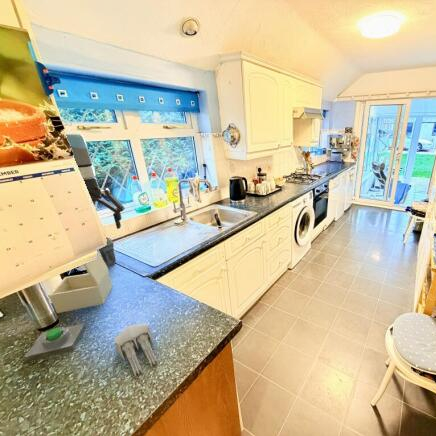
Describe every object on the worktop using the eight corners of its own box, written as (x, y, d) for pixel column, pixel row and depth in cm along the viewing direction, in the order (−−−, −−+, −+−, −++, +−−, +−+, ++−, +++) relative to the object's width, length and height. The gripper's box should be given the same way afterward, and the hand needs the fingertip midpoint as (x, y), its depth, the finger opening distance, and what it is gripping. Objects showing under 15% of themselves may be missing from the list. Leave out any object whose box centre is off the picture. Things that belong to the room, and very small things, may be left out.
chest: (56, 313, 93) (48, 295, 90) (71, 293, 104) (64, 277, 101) (103, 303, 99) (98, 286, 96) (113, 286, 110) (107, 270, 106)
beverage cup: (99, 266, 125) (87, 232, 118) (111, 259, 132) (101, 226, 124) (109, 268, 123) (99, 233, 116) (122, 261, 130) (112, 228, 123)
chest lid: (75, 252, 88) (90, 248, 90) (88, 238, 99) (101, 235, 101) (96, 286, 95) (110, 281, 97) (106, 269, 106) (119, 266, 108)
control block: (26, 362, 74) (21, 352, 73) (44, 337, 83) (40, 328, 81) (73, 350, 78) (70, 341, 77) (86, 328, 87) (82, 319, 85)
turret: (130, 386, 70) (126, 377, 67) (113, 339, 81) (109, 330, 79) (165, 364, 76) (163, 355, 74) (145, 323, 88) (143, 314, 86)
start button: (45, 341, 77) (43, 337, 76) (51, 333, 80) (49, 329, 79) (59, 338, 78) (57, 334, 78) (64, 330, 81) (62, 326, 81)
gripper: (33, 182, 80) (55, 238, 88) (119, 177, 89) (133, 229, 96) (45, 178, 86) (64, 230, 94) (124, 174, 95) (136, 222, 103)
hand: (99, 229), depth 95 cm, fingers open, 13 cm apart
